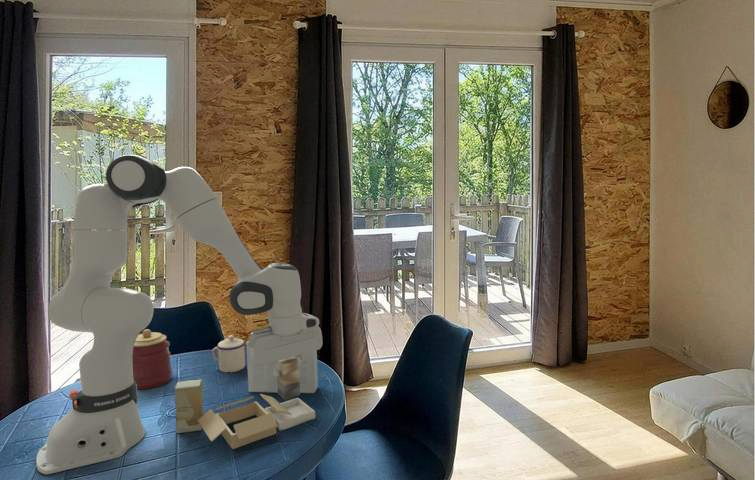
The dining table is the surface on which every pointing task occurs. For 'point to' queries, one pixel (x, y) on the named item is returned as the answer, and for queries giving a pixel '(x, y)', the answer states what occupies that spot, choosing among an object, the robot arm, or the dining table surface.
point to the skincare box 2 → (267, 381)
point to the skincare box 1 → (188, 405)
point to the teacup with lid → (230, 354)
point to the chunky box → (288, 378)
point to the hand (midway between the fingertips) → (288, 372)
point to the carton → (244, 430)
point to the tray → (292, 413)
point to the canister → (151, 360)
